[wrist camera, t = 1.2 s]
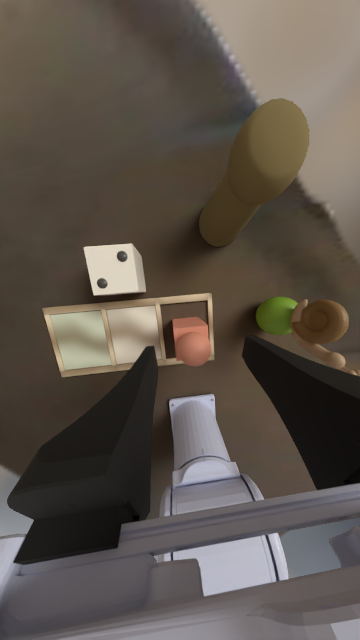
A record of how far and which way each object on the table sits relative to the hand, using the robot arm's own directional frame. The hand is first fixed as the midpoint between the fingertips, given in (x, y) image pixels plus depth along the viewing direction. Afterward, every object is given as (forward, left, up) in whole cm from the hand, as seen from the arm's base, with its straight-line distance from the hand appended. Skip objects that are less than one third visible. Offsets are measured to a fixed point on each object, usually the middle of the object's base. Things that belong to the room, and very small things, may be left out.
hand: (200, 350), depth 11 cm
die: (+8, +8, -11) cm, 16 cm away
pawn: (-1, 0, -11) cm, 11 cm away
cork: (+14, -6, -11) cm, 19 cm away
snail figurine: (0, -13, -11) cm, 17 cm away
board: (-1, +8, -11) cm, 14 cm away
